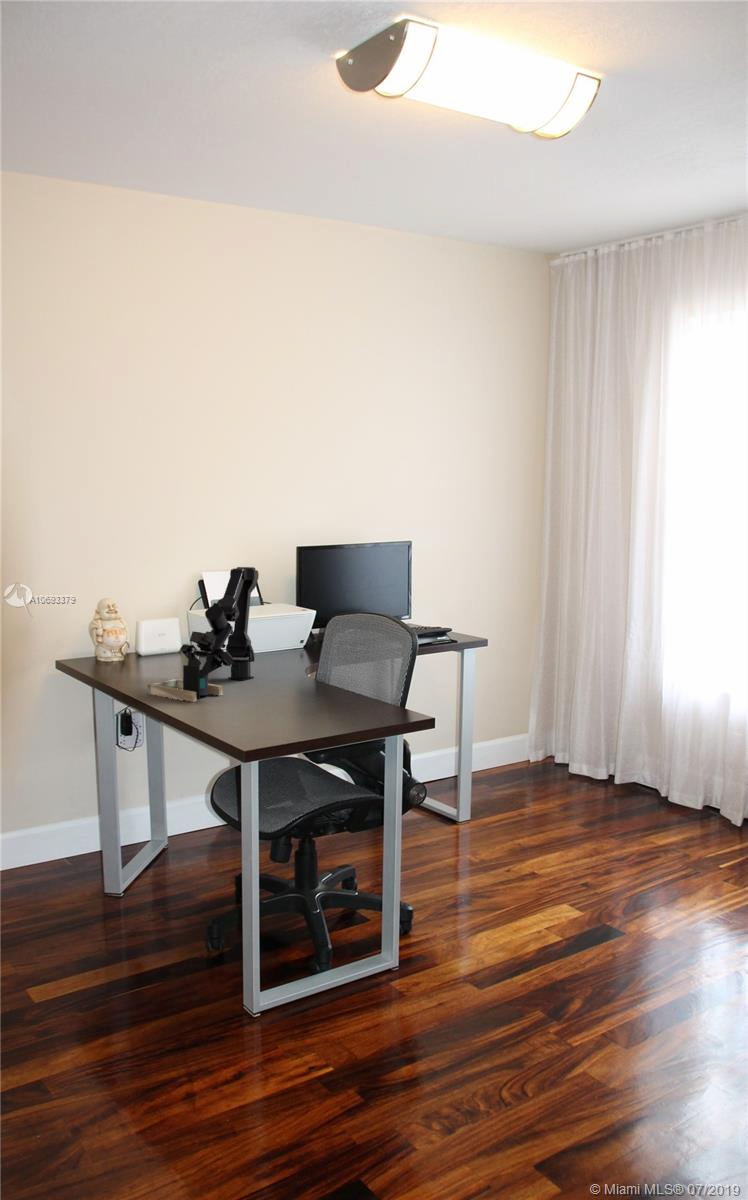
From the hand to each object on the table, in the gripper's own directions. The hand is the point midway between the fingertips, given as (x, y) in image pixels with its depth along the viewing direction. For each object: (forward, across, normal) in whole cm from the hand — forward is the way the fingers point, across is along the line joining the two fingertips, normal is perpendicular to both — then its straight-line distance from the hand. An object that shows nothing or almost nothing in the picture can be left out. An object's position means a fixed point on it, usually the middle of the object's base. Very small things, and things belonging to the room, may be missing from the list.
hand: (193, 676), depth 307 cm
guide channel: (+4, -5, +6) cm, 9 cm away
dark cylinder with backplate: (+4, 0, +6) cm, 7 cm away
